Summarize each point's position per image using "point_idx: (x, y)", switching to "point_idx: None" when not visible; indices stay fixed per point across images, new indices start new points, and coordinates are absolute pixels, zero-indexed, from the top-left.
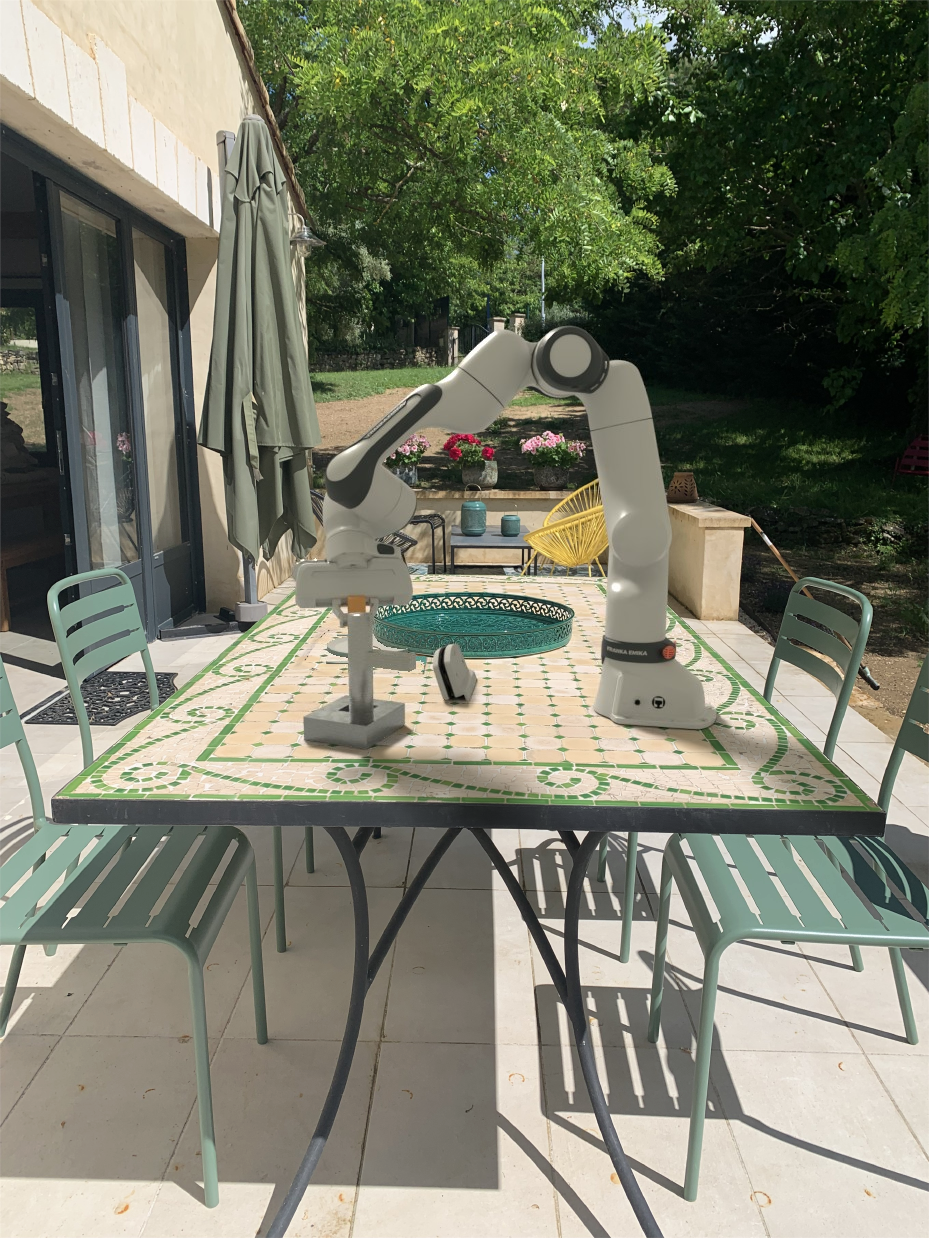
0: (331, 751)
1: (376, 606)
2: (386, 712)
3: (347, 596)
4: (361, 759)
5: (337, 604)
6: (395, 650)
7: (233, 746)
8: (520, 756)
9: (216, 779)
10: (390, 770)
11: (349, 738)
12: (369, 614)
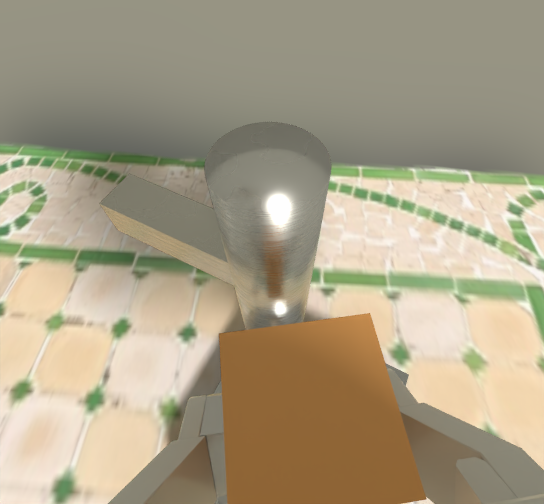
0: (326, 316)
1: (133, 482)
2: None
3: (417, 479)
4: None
5: (483, 466)
6: None
7: (516, 352)
8: (21, 278)
9: (466, 219)
10: None
11: None
12: (218, 160)
